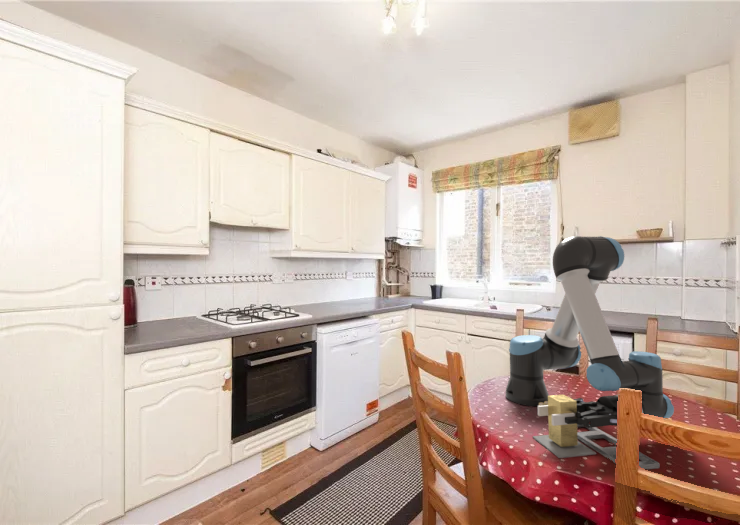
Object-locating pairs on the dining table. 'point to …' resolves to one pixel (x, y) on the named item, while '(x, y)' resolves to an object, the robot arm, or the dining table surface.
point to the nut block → (562, 433)
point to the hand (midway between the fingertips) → (545, 415)
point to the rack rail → (611, 451)
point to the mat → (563, 448)
